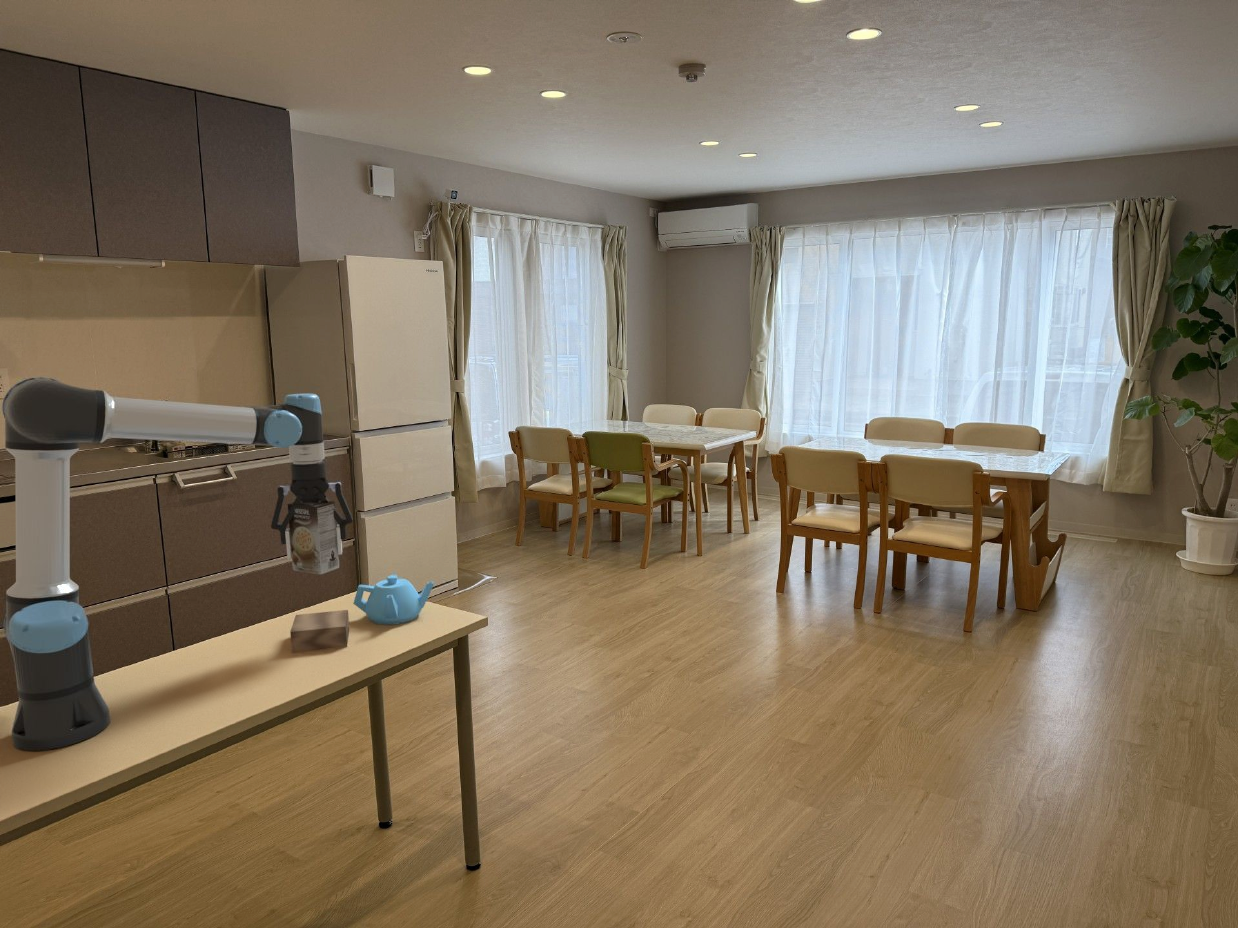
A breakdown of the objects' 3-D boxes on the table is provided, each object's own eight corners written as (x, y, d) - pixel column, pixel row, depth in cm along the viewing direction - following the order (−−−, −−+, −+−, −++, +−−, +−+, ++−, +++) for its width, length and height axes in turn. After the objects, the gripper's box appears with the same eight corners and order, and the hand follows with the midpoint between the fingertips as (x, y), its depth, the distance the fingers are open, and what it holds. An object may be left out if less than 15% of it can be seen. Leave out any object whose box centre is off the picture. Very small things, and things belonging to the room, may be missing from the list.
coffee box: (291, 571, 196) (285, 503, 193) (311, 563, 201) (306, 498, 199) (321, 575, 192) (315, 506, 189) (341, 567, 197) (336, 500, 195)
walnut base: (292, 652, 192) (290, 631, 191) (297, 634, 203) (295, 614, 203) (347, 646, 195) (345, 626, 194) (349, 629, 207) (348, 609, 206)
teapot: (398, 603, 226) (395, 564, 224) (437, 613, 217) (435, 572, 216) (351, 620, 213) (348, 579, 212) (391, 631, 205) (388, 588, 203)
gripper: (251, 467, 186) (260, 564, 189) (359, 460, 192) (366, 554, 195) (256, 462, 193) (264, 555, 197) (360, 456, 199) (367, 547, 202)
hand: (315, 555), depth 196 cm, fingers closed on coffee box, 10 cm apart
